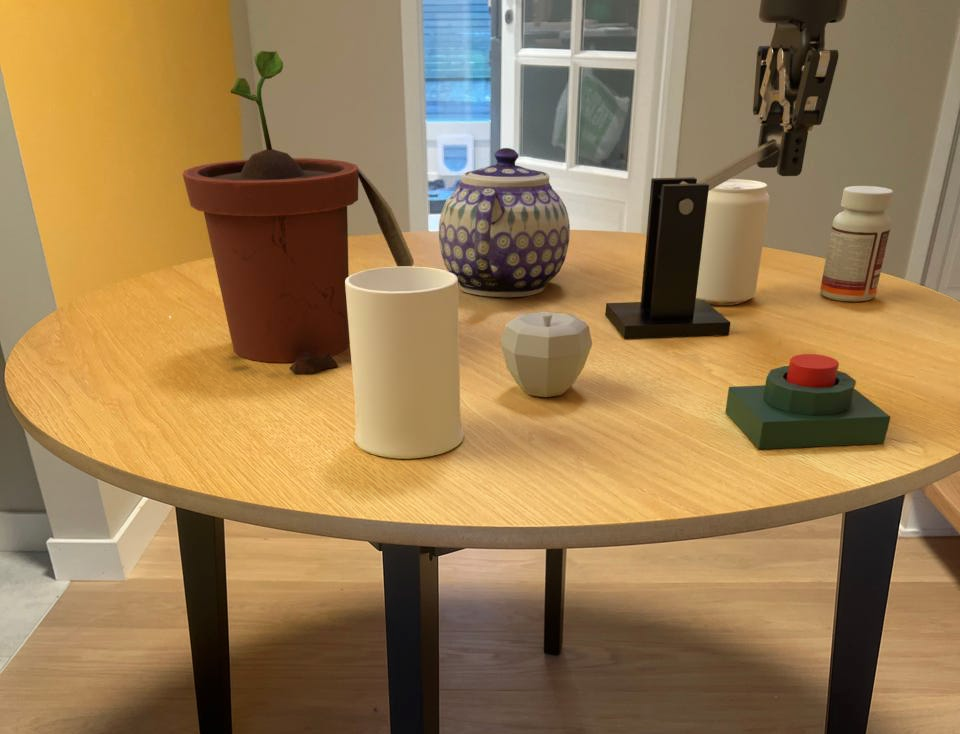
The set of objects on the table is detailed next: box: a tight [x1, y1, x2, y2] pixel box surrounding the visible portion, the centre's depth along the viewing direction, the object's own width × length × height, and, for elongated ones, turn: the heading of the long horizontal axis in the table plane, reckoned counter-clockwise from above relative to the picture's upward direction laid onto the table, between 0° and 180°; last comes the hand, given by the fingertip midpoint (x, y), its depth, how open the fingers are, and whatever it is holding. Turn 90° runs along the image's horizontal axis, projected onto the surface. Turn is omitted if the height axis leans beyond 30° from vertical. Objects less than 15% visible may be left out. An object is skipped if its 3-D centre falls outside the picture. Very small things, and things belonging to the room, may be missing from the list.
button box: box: [724, 365, 891, 450], centre depth 74 cm, size 10×8×4 cm
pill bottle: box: [820, 185, 894, 303], centre depth 106 cm, size 6×6×11 cm
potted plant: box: [182, 50, 415, 374], centre depth 87 cm, size 18×22×25 cm
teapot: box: [438, 147, 571, 298], centre depth 109 cm, size 25×15×15 cm, turn 165°
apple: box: [499, 311, 593, 398], centre depth 81 cm, size 8×8×7 cm
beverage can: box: [696, 178, 770, 306], centre depth 105 cm, size 8×8×12 cm
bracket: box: [604, 176, 731, 340], centre depth 96 cm, size 11×9×14 cm
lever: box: [658, 129, 783, 202], centre depth 92 cm, size 13×5×2 cm, turn 96°
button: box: [786, 353, 840, 388], centre depth 73 cm, size 4×4×2 cm
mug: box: [345, 265, 465, 460], centre depth 72 cm, size 12×8×12 cm
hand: (777, 170), depth 92 cm, fingers closed on lever, 5 cm apart
